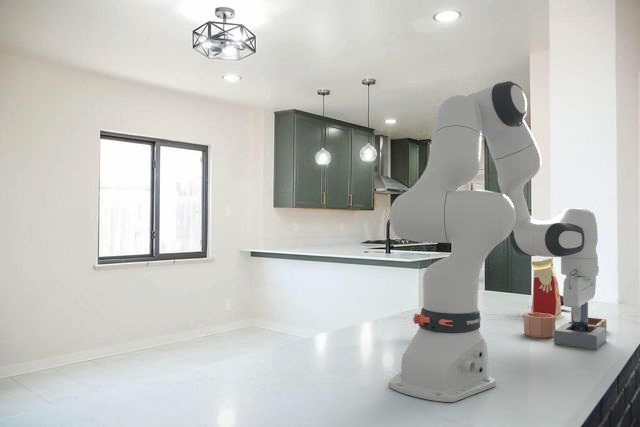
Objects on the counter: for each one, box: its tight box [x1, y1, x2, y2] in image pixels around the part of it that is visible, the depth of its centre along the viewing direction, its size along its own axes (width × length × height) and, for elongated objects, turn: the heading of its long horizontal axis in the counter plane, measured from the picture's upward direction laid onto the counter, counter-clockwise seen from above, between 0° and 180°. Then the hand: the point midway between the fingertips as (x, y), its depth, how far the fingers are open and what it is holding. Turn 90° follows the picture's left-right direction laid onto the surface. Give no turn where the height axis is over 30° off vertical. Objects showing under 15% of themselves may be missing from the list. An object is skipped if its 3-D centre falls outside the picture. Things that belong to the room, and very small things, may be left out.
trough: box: [568, 316, 607, 329], centre depth 144 cm, size 12×8×3 cm, turn 140°
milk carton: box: [529, 257, 562, 320], centre depth 169 cm, size 9×9×20 cm
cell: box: [570, 301, 589, 332], centre depth 132 cm, size 4×4×9 cm
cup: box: [523, 312, 556, 339], centre depth 141 cm, size 8×8×6 cm
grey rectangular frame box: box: [553, 322, 607, 350], centre depth 132 cm, size 12×10×4 cm
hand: (579, 319), depth 132 cm, fingers closed on cell, 4 cm apart
